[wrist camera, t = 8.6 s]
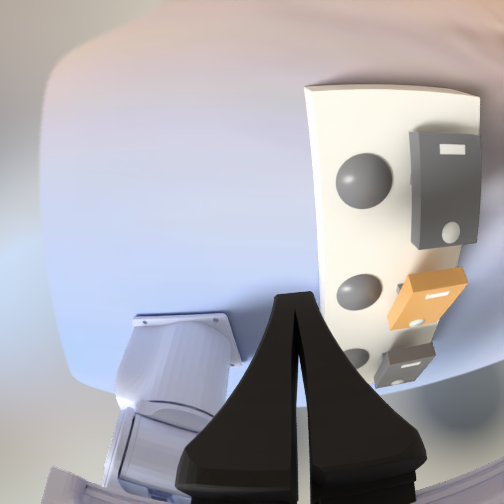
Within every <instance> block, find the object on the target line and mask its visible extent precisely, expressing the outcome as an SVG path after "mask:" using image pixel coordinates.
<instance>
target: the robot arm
mask: <svg viewBox="0 0 504 504" xmlns="http://www.w3.org/2000/svg"><path fill="white" fill-rule="evenodd" d="M215 318H217V319H215ZM132 323H133V325H134V329H133V332H132V334H131V337H130V339H129V342H128V345H127V347H126V350H125V352H124V355H123V358H122V360H121V363H120V366H119V368H118V371H117V375H116V381H115V393H116V398H117V402H118V404H119V406H120V408H121V411H120V413H119V416H118V420H117V423H116V427H115V430H114V433H113V437H112V440H111V444H110V447H109V451H108V455H107V459H106V463H105V466H104V469H105V473H104V477H103V481H102V486H100V485H97V484H94V483H91V482H88V481H86V480H85V479H83V478H81V477H79V476H77V475H75V474H73V473H70V472H68V471H65V470H63V469H60V468H58V467H55V466H51V469H50V473H49V476H48V479H47V483H46V487H45V490H44V494H43V498H42V502H41V504H297V501H298V457H297V456H298V455H297V423H296V400H297V381H298V357H299V358H300V364H301V370H302V377H303V383H304V389H305V395H306V402H307V411H308V430H309V455H310V502H311V503H310V504H504V456H503V457H501V458H499V459H497V460H495V461H493V462H491V463H489V464H487V465H484V466H482V467H480V468H478V469H475V470H473V471H471V472H468V473H466V474H463V475H461V476H458V477H455V478H453V479H450V480H447V481H444V482H442V483H439V484H436V485H433V486H429V487H426V488H423V489H420V490H416V491H415V486H414V482H415V481H416V473H415V470H416V469H418V468H419V467H420V466H421V465H422V464H424V462H425V461H426V460H427V456H426V450H425V447H424V444H423V442H422V439H421V437H420V435H419V433H418V431H417V430H416V429H415V428H414V427H413V426H412V425H410V424H409V423H408V422H407V421H406V420H404V419H403V418H402V417H401V416H400V415H399V414H397V413H396V412H395V411H394V410H393V409H392V408H391V407H390V406H389V405H388V404H387V403H386V402H385V401H384V400H383V399H382V398H381V397H380V396H379V395H378V394H377V393H376V392H375V391H374V390H373V388H372V387H371V386H370V385H369V384H368V383H367V382H366V381H365V379H364V378H363V377H362V376H361V375H360V373H359V372H358V371H357V370H356V368H355V367H354V366H353V364H352V363H351V362H350V360H349V359H348V358H347V356H346V355H345V353H344V352H343V350H342V349H341V347H340V346H339V344H338V343H337V341H336V340H335V338H334V336H333V335H332V333H331V331H330V329H329V328H328V326H327V324H326V322H325V320H324V318H323V316H322V314H321V312H320V310H319V308H318V306H317V303H316V300H315V298H314V294H313V293H312V292H311V291H308V292H298V293H287V294H277V295H276V296H275V297H274V303H273V308H272V312H271V315H270V318H269V321H268V324H267V327H266V330H265V332H264V335H263V337H262V340H261V342H260V344H259V347H258V349H257V351H256V353H255V355H254V357H253V359H252V361H251V363H250V365H249V367H248V369H247V370H246V372H245V374H244V375H243V377H242V379H241V380H240V382H239V384H238V385H237V387H236V388H235V390H234V391H233V393H232V394H231V395H230V397H229V398H228V400H227V401H226V393H227V385H228V376H229V367H240V366H242V360H241V357H240V354H239V351H238V348H237V345H236V342H235V339H234V336H233V333H232V329H231V326H230V323H229V320H228V317H227V315H226V314H224V313H214V314H195V315H172V316H140V317H133V318H132Z"/></svg>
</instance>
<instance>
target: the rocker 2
mask: <svg viewBox="0 0 504 504" xmlns="http://www.w3.org/2000/svg"><path fill="white" fill-rule="evenodd" d="M467 284H468V281H467V278H466V275H465V273H464V270H463V267H456V268H449V269H443V270H436V271H429V272H422V273H415V274H408V276H407V278H406V280H405V282H404V284H403V286H402V288H401V290H400V292H399V294H398V296H397V298H396V300H395V302H394V304H393V306H392V308H391V310H390V311H389V313H388V315H387V319H388V324H389V329H390V331H392V330H398V329H404V328H409V327H415V326H420V325H425V324H430V323H435V322H437V321H438V320H439V319H440V318H441V316H442V315H443V314H444V313H445V312H446V310H447V309H448V308H449V307H450V306H451V304H452V303H453V302H454V301H455V299H456V298H457V297H458V296H459V294H460V293H461V292H462V291H463V289H464V288H465V287H466V285H467Z"/></svg>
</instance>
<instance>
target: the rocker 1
mask: <svg viewBox="0 0 504 504" xmlns="http://www.w3.org/2000/svg"><path fill="white" fill-rule="evenodd" d="M409 141H410V157H411V185H412V216H411V243H412V244H413V245H414V246H415V247H416V248H417V249H418V250H424V249H433V248H441V247H449V246H457V245H465V244H473V243H477V235H478V225H479V213H480V197H481V138H480V135H475V134H465V133H446V132H409Z"/></svg>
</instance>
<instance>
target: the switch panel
mask: <svg viewBox="0 0 504 504" xmlns="http://www.w3.org/2000/svg"><path fill="white" fill-rule="evenodd" d="M304 92H305V99H306V108H307V116H308V125H309V134H310V144H311V154H312V165H313V177H314V189H315V203H316V219H317V237H318V259H319V293H320V312H321V314H322V316H323V318H324V320H325V322H326V324H327V326H328V328H329V329H330V331H331V333H332V335H333V336H334V338H335V340H336V341H337V343H338V344H339V346H340V347H341V349H342V350H343V352H344V353H345V355H346V356H347V358H348V359H349V360H350V362H351V363H352V364H353V366H354V367H355V368H356V370H357V371H358V372H359V373H360V375H361V376H362V377H363V378H364V379H365V381H366V382H367V383H368V384H372V383H374V375H375V373H376V372H377V370H378V368H379V366H380V364H381V362H382V360H383V358H384V357H385V355H386V353H387V351H390V350H396V349H401V348H407V347H412V346H417V345H422V344H426V343H430V342H431V340H432V338H433V335H434V332H435V330H436V327H437V325H438V322H439V320H438V321H437V322H435V323H430V324H425V325H420V326H415V327H409V328H404V329H398V330H392V331H390V329H389V324H388V319H387V315H388V313H389V311H390V310H391V308H392V306H393V304H394V302H395V300H396V298H397V296H398V294H399V292H400V290H401V288H402V286H403V284H404V282H405V280H406V278H407V276H408V274H415V273H422V272H429V271H436V270H443V269H449V268H456V266H457V263H458V259H459V255H460V251H461V247H462V245H457V246H449V247H441V248H433V249H424V250H418V249H417V248H416V247H415V246H414V245H413V244H412V243H411V216H412V185H411V157H410V141H409V132H446V133H465V134H475V135H479V122H480V97H477V96H474V95H471V94H467V93H464V92H460V91H457V90H453V89H448V88H439V87H427V86H413V85H392V84H344V85H322V86H307V87H304Z"/></svg>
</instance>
